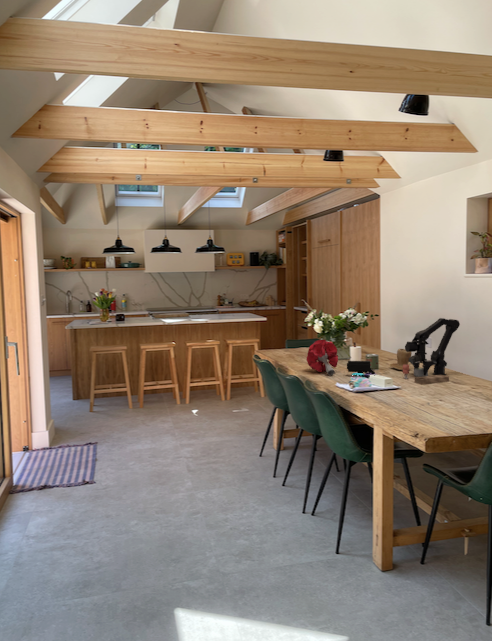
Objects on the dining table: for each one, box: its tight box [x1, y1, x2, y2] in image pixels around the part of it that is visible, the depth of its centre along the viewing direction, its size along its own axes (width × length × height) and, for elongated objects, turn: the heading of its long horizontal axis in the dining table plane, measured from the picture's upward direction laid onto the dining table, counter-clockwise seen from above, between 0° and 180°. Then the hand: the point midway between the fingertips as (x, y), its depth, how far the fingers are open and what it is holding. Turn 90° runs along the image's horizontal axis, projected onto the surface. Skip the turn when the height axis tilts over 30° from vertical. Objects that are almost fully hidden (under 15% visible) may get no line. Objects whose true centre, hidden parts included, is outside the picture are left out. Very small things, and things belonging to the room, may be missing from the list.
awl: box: [402, 364, 410, 380], centre depth 331 cm, size 4×4×9 cm
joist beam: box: [413, 374, 450, 385], centre depth 320 cm, size 21×7×3 cm, turn 111°
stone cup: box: [389, 348, 412, 371], centre depth 363 cm, size 15×12×15 cm
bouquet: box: [306, 339, 339, 377], centre depth 357 cm, size 22×24×30 cm
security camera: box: [346, 360, 376, 375], centre depth 343 cm, size 7×18×10 cm, turn 78°
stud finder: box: [413, 367, 429, 378], centre depth 339 cm, size 8×4×5 cm, turn 111°
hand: (420, 374), depth 339 cm, fingers open, 8 cm apart
